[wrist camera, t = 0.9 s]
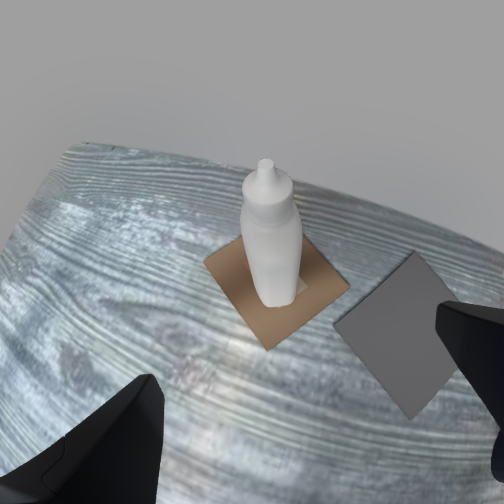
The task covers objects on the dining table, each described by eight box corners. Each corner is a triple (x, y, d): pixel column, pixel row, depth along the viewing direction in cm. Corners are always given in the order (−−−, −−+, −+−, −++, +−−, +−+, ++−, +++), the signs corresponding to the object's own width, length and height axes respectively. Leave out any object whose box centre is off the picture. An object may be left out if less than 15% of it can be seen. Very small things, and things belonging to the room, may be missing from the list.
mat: (480, 333, 18) (482, 332, 18) (409, 420, 16) (411, 420, 16) (413, 253, 23) (415, 251, 22) (332, 326, 21) (333, 325, 20)
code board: (349, 288, 22) (350, 286, 22) (267, 351, 20) (267, 350, 20) (279, 213, 26) (279, 210, 25) (203, 263, 24) (202, 261, 24)
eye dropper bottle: (234, 296, 22) (190, 201, 12) (262, 236, 24) (245, 119, 14) (288, 316, 21) (294, 231, 10) (312, 252, 23) (329, 136, 13)
